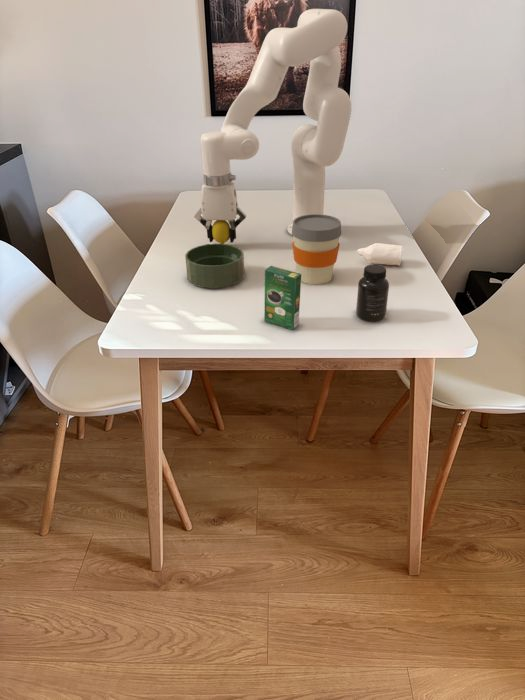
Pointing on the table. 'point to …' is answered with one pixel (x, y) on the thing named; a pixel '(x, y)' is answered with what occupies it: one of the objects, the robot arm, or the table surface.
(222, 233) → the lemon
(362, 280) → the supplement bottle
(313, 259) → the reusable coffee cup
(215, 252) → the green round bowl
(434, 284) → the table surface
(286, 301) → the coffee box
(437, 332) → the table surface
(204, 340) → the table surface
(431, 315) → the table surface
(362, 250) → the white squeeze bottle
